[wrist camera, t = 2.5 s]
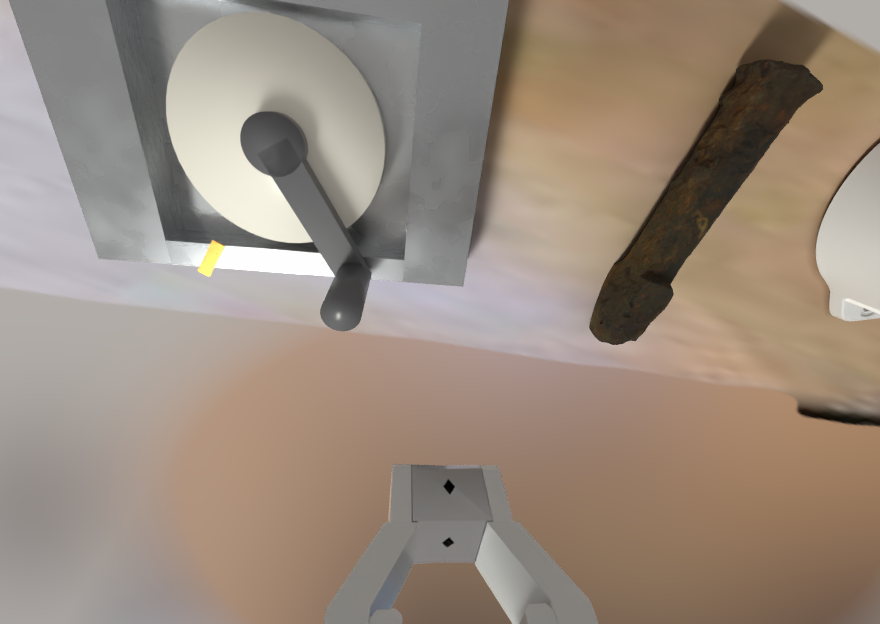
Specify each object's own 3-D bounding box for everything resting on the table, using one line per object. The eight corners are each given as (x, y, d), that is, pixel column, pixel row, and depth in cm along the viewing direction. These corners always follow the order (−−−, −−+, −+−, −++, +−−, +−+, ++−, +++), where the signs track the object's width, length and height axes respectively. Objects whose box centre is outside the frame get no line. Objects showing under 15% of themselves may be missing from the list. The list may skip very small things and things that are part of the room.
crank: (320, -24, 18) (267, -102, 11) (439, 239, 25) (449, 287, 18) (139, 81, 19) (-3, 68, 13) (298, 301, 26) (260, 367, 20)
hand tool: (731, 56, 22) (803, 45, 18) (777, 88, 23) (856, 84, 19) (559, 314, 30) (582, 346, 26) (599, 329, 31) (627, 363, 27)
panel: (496, 11, 20) (509, -4, 17) (456, 276, 27) (461, 295, 25) (41, -64, 17) (-27, -96, 15) (135, 251, 25) (101, 268, 22)
